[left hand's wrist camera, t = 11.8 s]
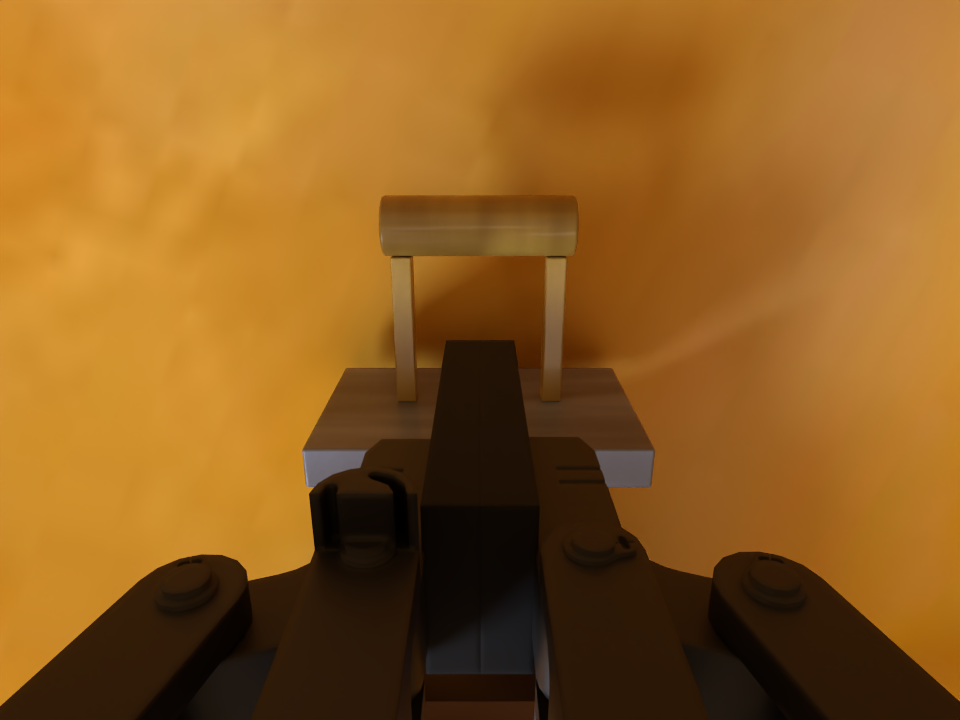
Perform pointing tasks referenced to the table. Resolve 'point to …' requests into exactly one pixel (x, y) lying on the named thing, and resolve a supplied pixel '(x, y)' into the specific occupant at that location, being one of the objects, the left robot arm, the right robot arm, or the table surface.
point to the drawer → (413, 391)
